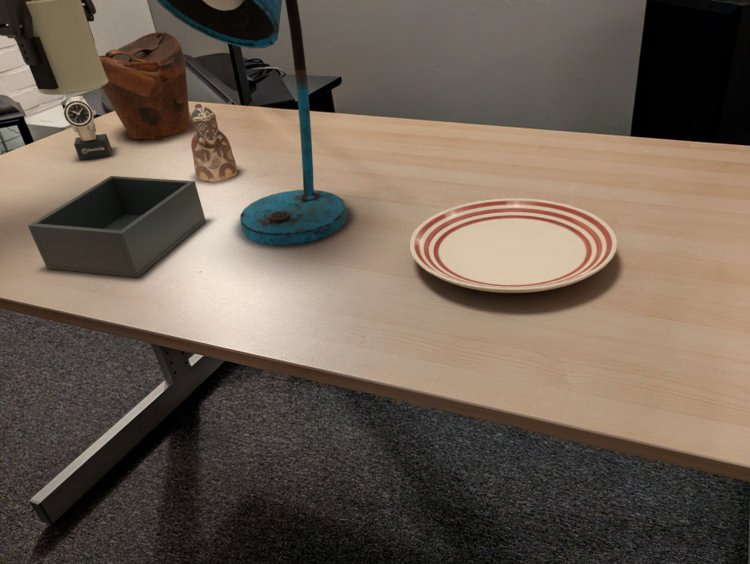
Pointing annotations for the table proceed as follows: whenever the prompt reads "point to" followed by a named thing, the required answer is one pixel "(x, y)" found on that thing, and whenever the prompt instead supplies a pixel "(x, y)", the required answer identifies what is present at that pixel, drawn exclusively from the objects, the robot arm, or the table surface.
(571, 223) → the dinner plate
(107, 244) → the bus tub
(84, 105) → the watch
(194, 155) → the figurine
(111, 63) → the case
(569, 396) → the table surface
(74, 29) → the can
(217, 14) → the desk lamp
